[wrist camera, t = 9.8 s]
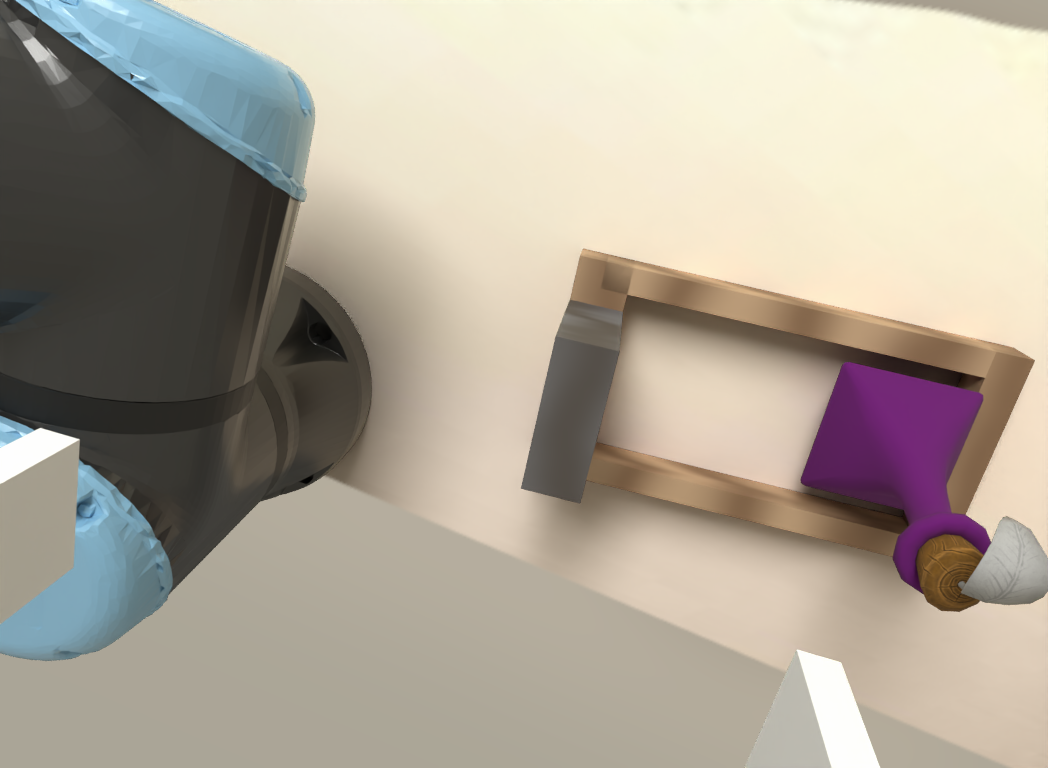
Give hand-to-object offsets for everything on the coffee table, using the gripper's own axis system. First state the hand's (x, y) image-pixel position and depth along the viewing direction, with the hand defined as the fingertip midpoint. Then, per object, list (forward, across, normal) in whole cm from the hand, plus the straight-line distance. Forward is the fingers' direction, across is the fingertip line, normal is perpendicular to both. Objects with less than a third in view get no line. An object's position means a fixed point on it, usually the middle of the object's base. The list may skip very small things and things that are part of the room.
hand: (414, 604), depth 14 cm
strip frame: (+34, +13, -5) cm, 36 cm away
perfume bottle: (+34, +19, -4) cm, 39 cm away
